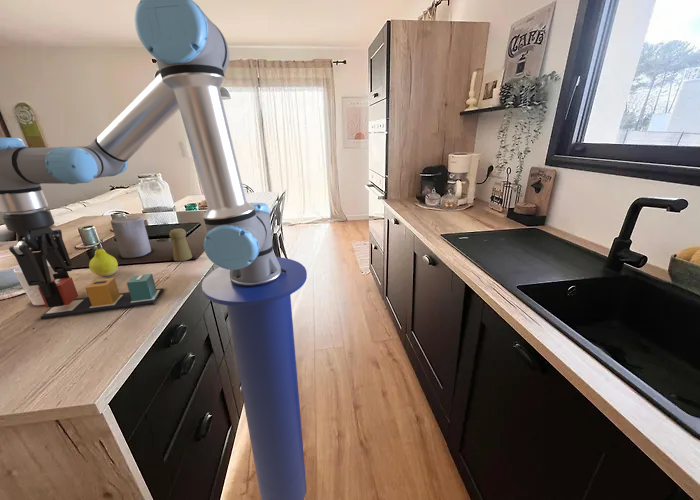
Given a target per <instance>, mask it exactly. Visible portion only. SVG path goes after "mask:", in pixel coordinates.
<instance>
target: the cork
mask: <svg viewBox="0 0 700 500" xmlns="http://www.w3.org/2000/svg"><path fill="white" fill-rule="evenodd" d="M168 236H169V238H170V239H171V241H172V255H173V261H174V262H184V261H189V260H191V259H192V258H193V254H192V251H191V249H190V247H189V243H188V241H187V238H186V237H187V231H186V230H185V229H184V228H173V229H171V230H170V231H169V234H168Z"/></svg>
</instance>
